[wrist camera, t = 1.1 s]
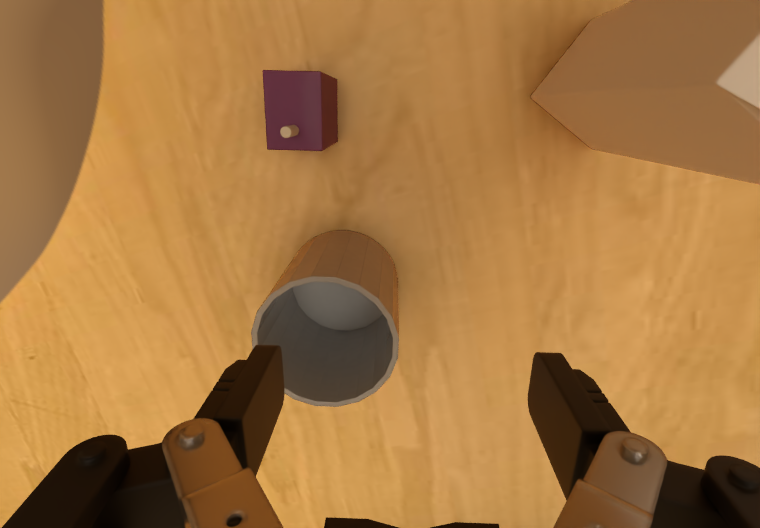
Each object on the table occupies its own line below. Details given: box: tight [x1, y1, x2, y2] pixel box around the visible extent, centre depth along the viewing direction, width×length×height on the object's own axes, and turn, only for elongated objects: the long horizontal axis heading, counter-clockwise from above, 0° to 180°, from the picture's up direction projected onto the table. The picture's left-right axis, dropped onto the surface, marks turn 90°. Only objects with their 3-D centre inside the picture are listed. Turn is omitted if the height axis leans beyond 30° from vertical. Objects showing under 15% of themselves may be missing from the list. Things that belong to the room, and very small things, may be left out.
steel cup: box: [251, 230, 399, 407], centre depth 31 cm, size 9×9×10 cm
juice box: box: [263, 70, 338, 151], centre depth 27 cm, size 4×3×9 cm
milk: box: [531, 0, 760, 185], centre depth 20 cm, size 6×6×22 cm
